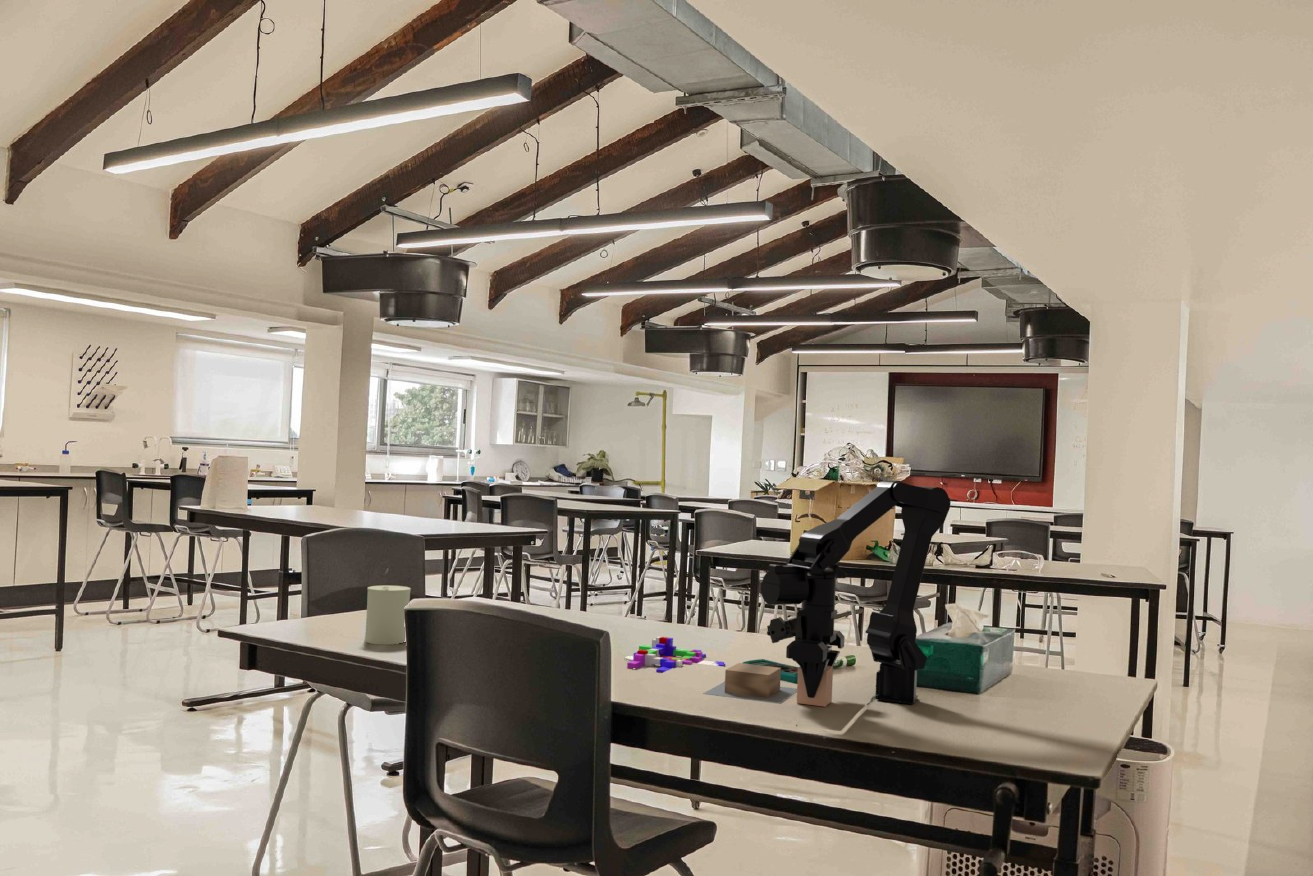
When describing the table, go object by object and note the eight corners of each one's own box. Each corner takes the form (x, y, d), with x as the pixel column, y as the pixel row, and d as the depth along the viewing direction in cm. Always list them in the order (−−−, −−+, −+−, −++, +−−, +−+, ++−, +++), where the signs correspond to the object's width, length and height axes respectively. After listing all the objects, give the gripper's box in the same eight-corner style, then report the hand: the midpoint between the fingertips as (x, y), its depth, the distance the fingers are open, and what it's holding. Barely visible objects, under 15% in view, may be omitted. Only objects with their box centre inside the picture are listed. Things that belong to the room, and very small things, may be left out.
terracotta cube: (831, 701, 180) (833, 666, 180) (825, 706, 175) (826, 671, 175) (803, 697, 182) (804, 663, 182) (796, 703, 177) (798, 667, 177)
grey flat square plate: (799, 692, 189) (800, 689, 189) (780, 707, 176) (780, 703, 176) (727, 683, 195) (727, 680, 195) (702, 697, 182) (703, 693, 182)
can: (358, 643, 219) (361, 586, 219) (371, 636, 228) (374, 582, 228) (401, 645, 218) (404, 589, 219) (413, 639, 228) (416, 584, 228)
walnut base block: (779, 690, 188) (780, 667, 188) (768, 698, 180) (769, 675, 181) (737, 684, 191) (738, 663, 191) (724, 692, 183) (725, 669, 184)
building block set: (701, 681, 199) (702, 657, 199) (605, 668, 207) (606, 646, 207) (741, 661, 222) (742, 640, 222) (653, 651, 230) (654, 630, 230)
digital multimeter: (796, 689, 194) (797, 673, 194) (737, 675, 205) (738, 660, 205) (820, 685, 199) (821, 670, 200) (761, 672, 210) (762, 657, 210)
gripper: (786, 595, 191) (782, 680, 190) (758, 605, 173) (754, 699, 173) (846, 600, 186) (843, 687, 186) (823, 611, 169) (820, 707, 169)
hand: (814, 694), depth 178 cm, fingers closed on terracotta cube, 5 cm apart
